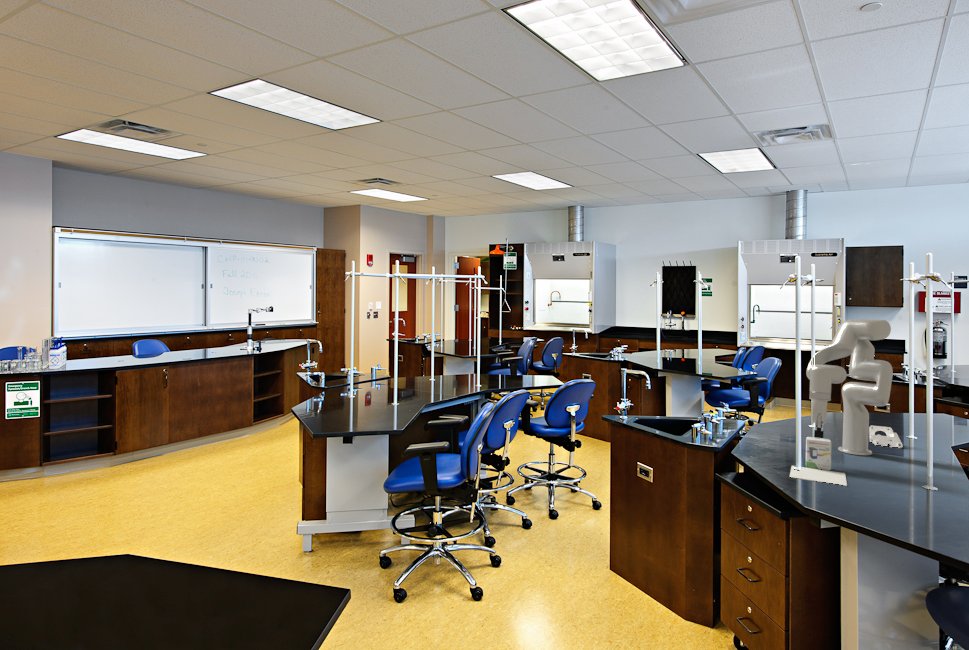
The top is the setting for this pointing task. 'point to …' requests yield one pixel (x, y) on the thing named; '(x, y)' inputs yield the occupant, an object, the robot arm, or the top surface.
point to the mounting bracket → (884, 437)
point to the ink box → (818, 453)
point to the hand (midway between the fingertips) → (818, 440)
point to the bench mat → (819, 475)
